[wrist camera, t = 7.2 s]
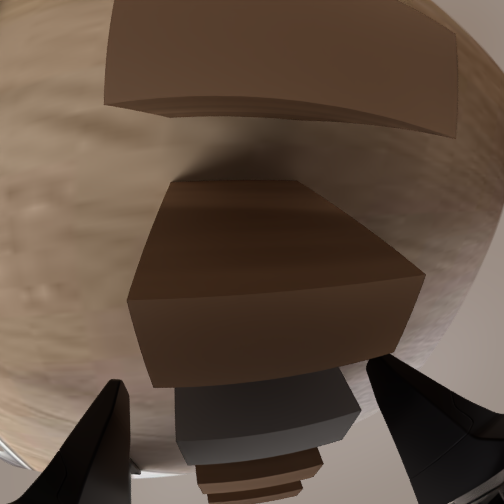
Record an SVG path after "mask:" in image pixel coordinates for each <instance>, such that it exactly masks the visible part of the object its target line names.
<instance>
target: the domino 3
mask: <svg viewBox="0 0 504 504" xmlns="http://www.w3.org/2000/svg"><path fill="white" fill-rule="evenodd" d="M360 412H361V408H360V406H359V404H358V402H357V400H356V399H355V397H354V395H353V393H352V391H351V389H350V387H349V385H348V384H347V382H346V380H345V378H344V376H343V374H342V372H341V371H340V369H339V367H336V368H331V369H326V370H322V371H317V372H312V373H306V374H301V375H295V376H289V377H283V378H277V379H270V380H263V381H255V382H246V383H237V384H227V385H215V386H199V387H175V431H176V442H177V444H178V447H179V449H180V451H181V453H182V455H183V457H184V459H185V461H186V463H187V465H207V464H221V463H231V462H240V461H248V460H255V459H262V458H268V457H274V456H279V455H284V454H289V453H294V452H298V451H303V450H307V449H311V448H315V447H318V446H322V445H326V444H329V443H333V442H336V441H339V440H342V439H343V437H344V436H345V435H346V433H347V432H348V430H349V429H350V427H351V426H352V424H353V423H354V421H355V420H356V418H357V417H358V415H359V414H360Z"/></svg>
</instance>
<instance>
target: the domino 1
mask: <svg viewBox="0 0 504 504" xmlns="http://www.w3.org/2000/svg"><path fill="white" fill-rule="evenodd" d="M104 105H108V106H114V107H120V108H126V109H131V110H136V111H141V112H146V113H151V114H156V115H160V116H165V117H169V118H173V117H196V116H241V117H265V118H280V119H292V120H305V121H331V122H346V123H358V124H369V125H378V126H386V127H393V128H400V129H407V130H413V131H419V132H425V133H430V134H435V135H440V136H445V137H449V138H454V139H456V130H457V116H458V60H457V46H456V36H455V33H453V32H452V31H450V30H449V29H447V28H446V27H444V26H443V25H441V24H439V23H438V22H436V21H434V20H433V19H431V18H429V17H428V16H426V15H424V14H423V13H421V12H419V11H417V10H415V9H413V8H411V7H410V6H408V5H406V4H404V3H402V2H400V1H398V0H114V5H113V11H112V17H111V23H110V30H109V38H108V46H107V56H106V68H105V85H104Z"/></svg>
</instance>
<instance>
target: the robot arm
mask: <svg viewBox="0 0 504 504" xmlns="http://www.w3.org/2000/svg"><path fill="white" fill-rule="evenodd" d="M366 371H367V374H368V377H369V380H370V383H371V386H372V389H373V392H374V395H375V398H376V401H377V403H378V406H379V408H380V410H381V413H382V414H383V417H384V419H385V421H386V424H387V426H388V428H389V431H390V433H391V435H392V438H393V440H394V442H395V444H396V447H397V449H398V452H399V454H400V457H401V459H402V462H403V464H404V467H405V469H406V472H407V474H408V476H409V479H410V482H411V485H412V487H413V490H414V493H415V495H416V498H417V501H418V504H448V503H449V502H452V501H453V500H454V502H453V503H452V504H504V414H499V413H495V412H492V411H490V410H488V409H486V408H484V407H481V406H479V405H477V404H475V403H473V402H471V401H469V400H467V399H465V398H463V397H461V396H460V395H458V394H456V393H454V392H453V391H450V390H449V389H448V388H446V387H444V386H442V385H441V384H439V383H437V382H436V381H434V380H432V379H431V378H429V377H427V376H426V375H424V374H422V373H421V372H419V371H417V370H416V369H414V368H413V367H411V366H409V365H408V364H406V363H404V362H403V361H401V360H399V359H398V358H396V357H394V356H393V355H391V354H386V355H383V356H379V357H375V358H372V359H369V361H368V363H367V365H366ZM59 450H60V451H58V452H57V453H56V455H55V456H54V458H53V459H52V460H51V462H50V463H49V465H48V466H47V467H46V469H45V470H44V471H43V472H42V473H41V475H40V476H39V477H38V478H37V479H36V480H35V481H34V483H33V484H32V485H31V486H30V487H29V488H28V489H27V490H26V492H25V493H24V494H23V495H22V496H21V497H20V498H18V499H17V500H15V501H13V502H11V503H8V504H131V474H138V475H140V474H141V470H140V469H139V468H138V467H137V466H136V465H135V464H134V463H133V462H132V461H131V460H130V459H129V454H130V401H129V394H128V391H127V389H126V387H125V385H124V383H123V381H122V380H120V379H111V380H109V381H108V383H107V384H106V385H105V387H104V388H103V389H102V391H101V392H100V394H99V395H98V396H97V398H96V399H95V400H94V402H93V403H92V404H91V406H90V407H89V408H88V410H87V411H86V413H85V414H84V415H83V417H82V418H81V419H80V421H79V422H78V424H77V425H76V426H75V428H74V429H73V431H72V432H71V433H70V435H69V436H68V438H67V439H66V441H65V442H64V443H63V445H62V446H61V448H60V449H59Z"/></svg>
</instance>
